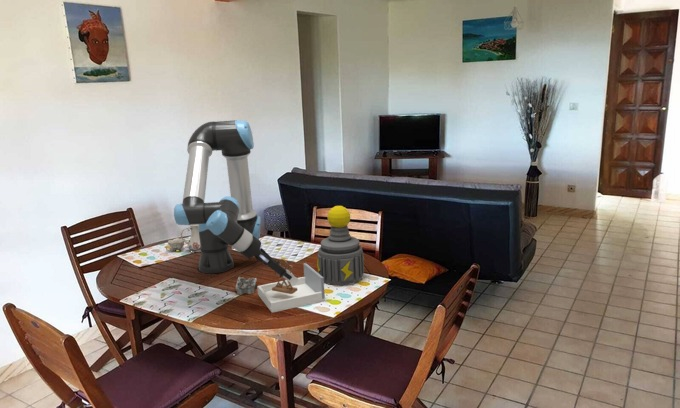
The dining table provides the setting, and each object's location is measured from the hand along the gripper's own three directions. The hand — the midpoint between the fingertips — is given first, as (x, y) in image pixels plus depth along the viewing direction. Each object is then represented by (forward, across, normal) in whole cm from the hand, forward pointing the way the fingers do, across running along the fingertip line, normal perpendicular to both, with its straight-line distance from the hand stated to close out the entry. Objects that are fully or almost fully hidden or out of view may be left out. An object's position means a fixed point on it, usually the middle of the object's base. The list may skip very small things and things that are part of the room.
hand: (293, 279), depth 184 cm
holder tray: (+4, -1, -6) cm, 7 cm away
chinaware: (-11, -82, -22) cm, 85 cm away
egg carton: (-4, -17, -15) cm, 23 cm away
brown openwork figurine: (0, 0, -5) cm, 5 cm away
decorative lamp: (+22, -10, +12) cm, 27 cm away
